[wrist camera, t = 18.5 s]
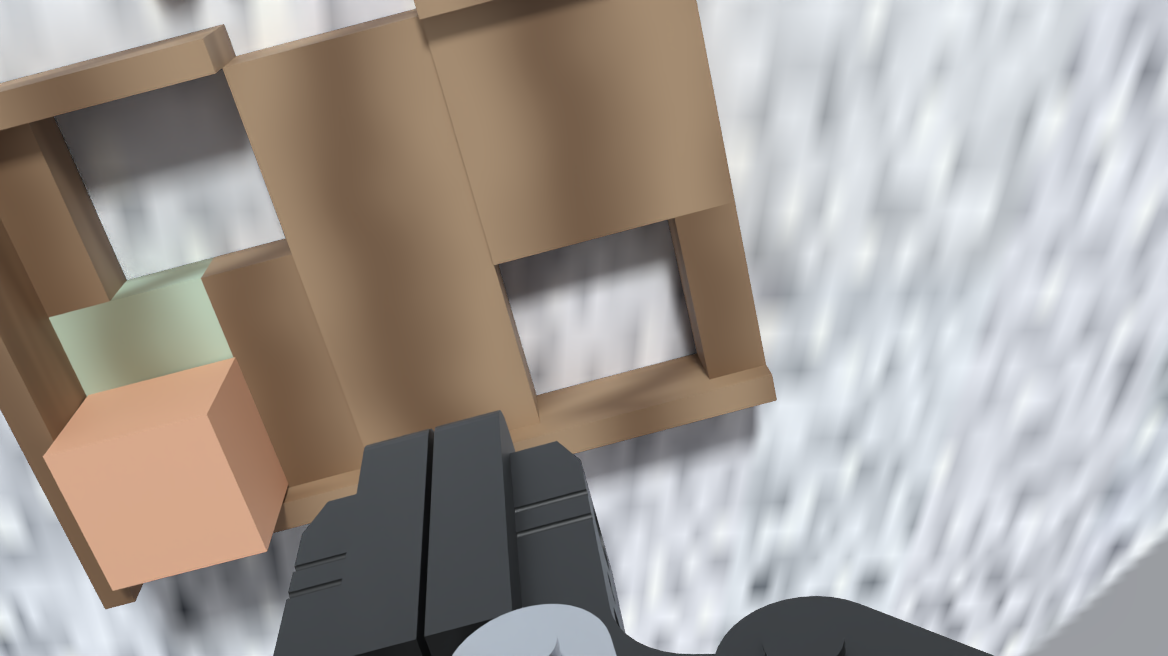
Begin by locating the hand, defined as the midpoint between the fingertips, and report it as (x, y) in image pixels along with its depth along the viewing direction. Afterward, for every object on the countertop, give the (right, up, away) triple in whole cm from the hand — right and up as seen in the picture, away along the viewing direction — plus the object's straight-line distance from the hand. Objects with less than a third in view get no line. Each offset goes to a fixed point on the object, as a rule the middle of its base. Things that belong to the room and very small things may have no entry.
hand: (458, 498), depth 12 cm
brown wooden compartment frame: (-5, +5, +25) cm, 26 cm away
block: (-12, -2, +25) cm, 27 cm away
